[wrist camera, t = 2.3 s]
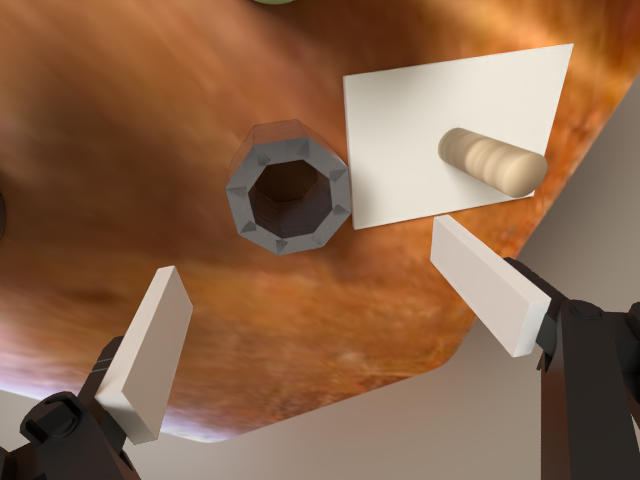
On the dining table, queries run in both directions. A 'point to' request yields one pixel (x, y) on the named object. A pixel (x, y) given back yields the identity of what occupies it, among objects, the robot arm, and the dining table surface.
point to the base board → (442, 128)
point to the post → (493, 162)
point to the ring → (296, 215)
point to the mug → (274, 1)
